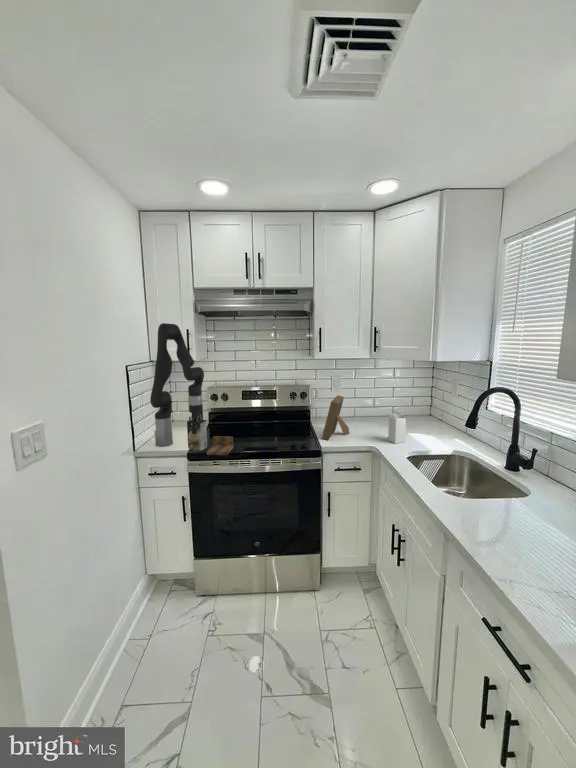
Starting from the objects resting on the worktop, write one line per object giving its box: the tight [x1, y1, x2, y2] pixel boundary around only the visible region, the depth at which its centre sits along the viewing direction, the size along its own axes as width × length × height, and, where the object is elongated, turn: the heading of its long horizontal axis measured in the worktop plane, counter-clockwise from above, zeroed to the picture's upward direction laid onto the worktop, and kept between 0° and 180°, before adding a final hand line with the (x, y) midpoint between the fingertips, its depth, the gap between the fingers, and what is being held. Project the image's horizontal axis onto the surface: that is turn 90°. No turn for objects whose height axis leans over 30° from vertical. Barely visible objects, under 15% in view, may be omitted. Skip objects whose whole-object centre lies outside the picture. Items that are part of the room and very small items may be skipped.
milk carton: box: [387, 409, 407, 445], centre depth 197 cm, size 7×7×19 cm
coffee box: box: [186, 419, 208, 451], centre depth 183 cm, size 9×6×16 cm
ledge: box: [206, 435, 234, 456], centre depth 188 cm, size 12×12×7 cm
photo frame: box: [321, 395, 350, 441], centre depth 211 cm, size 15×22×25 cm
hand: (196, 431), depth 183 cm, fingers closed on coffee box, 7 cm apart
